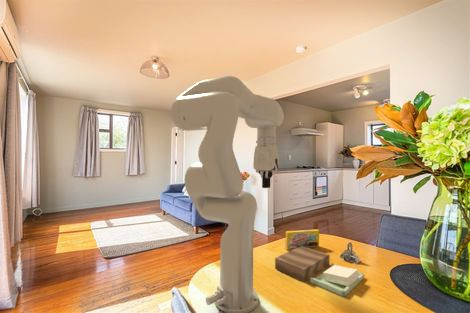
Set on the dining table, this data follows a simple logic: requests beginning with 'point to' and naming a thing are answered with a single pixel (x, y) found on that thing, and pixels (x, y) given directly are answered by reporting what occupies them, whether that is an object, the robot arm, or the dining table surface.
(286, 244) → the candy box
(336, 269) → the tile
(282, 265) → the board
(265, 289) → the dining table surface
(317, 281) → the tray
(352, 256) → the house of cards
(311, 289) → the dining table surface
